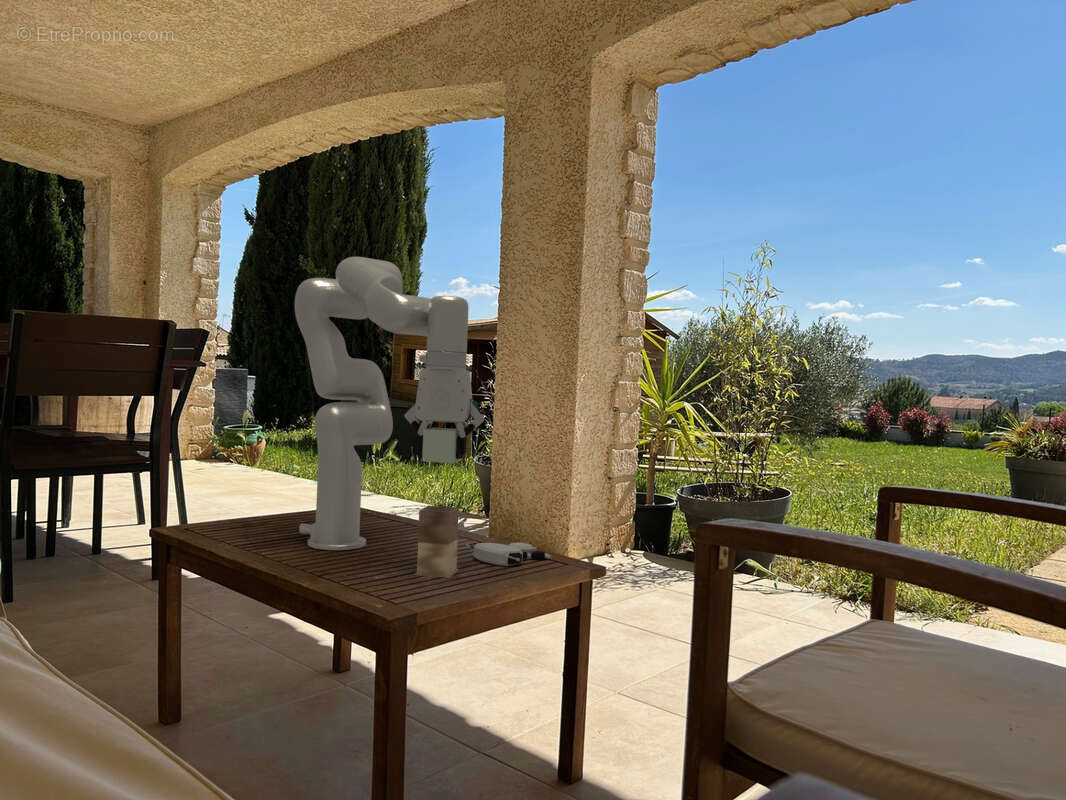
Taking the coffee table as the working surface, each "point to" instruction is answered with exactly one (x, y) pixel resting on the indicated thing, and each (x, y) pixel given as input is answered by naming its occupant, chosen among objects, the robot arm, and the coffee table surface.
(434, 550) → the oak block
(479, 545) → the robot toy
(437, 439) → the sage block
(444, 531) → the walnut block
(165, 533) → the coffee table surface
